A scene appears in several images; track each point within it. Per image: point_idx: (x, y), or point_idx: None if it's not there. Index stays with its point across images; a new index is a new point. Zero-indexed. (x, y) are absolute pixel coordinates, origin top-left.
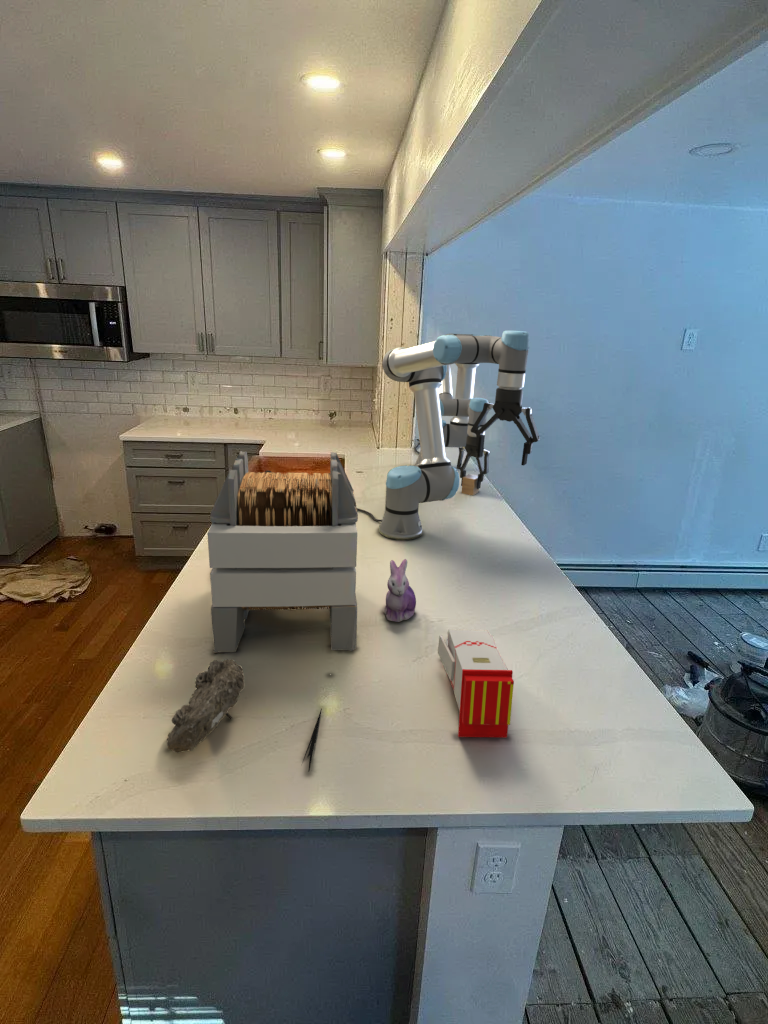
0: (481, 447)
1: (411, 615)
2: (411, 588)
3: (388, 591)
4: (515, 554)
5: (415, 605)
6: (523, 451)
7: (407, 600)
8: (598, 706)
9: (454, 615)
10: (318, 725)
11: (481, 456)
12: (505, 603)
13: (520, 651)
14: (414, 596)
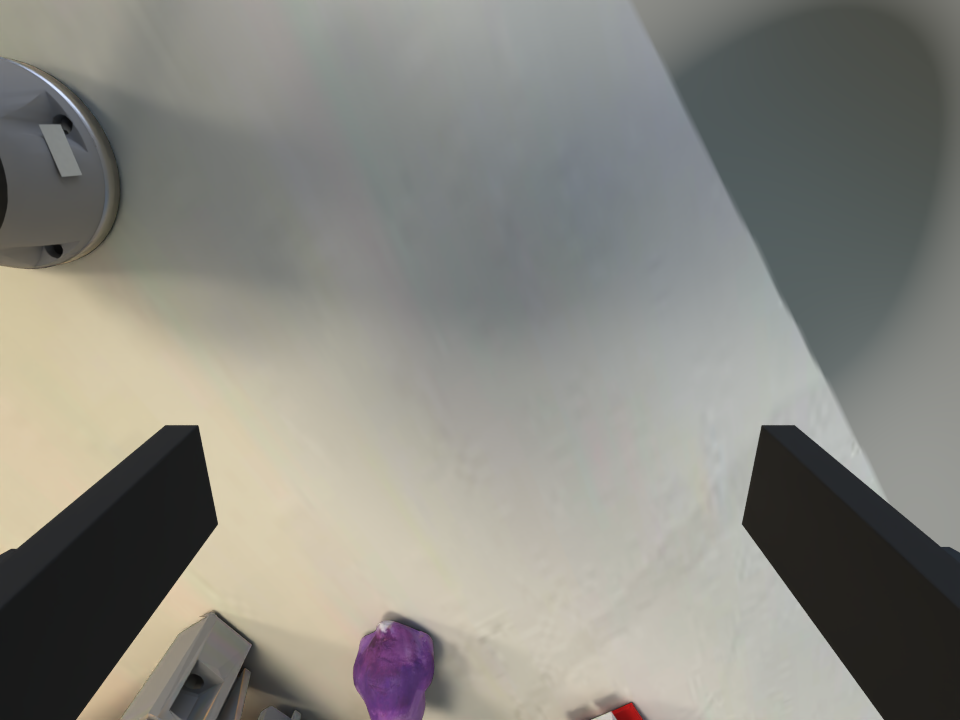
0: (136, 590)
1: (433, 653)
2: (407, 681)
3: (359, 693)
4: (539, 85)
5: (433, 661)
6: (856, 668)
7: (423, 704)
8: (852, 709)
9: (515, 595)
10: None
11: (203, 467)
12: (612, 480)
13: (694, 641)
14: (424, 675)
